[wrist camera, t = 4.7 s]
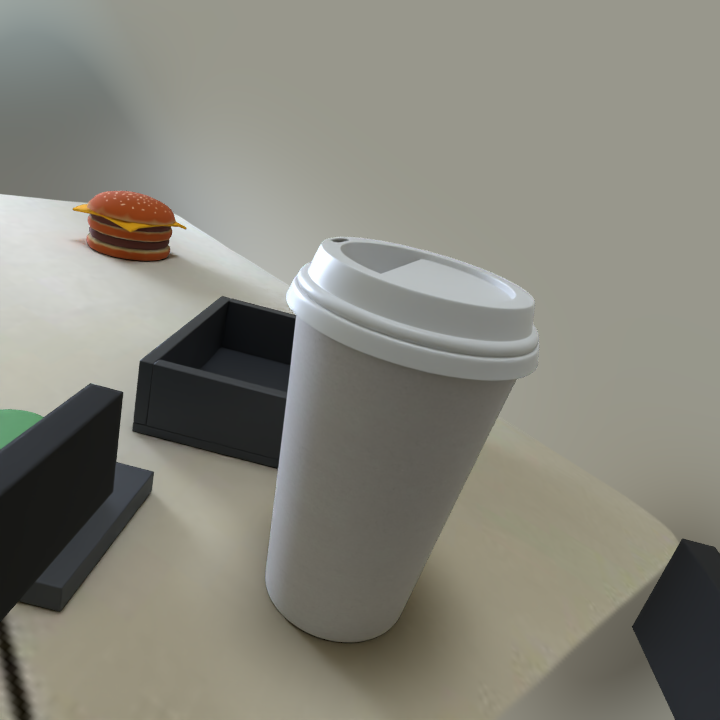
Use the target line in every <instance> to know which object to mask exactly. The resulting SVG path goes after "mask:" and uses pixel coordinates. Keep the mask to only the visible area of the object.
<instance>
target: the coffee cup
mask: <svg viewBox="0 0 720 720" xmlns="http://www.w3.org/2000/svg"><path fill="white" fill-rule="evenodd" d="M286 300H287V303H288V305H289V307H290V308H291V310H292V311H293V312H294V313H295V314H296V322H295V331H294V340H293V349H292V358H291V366H290V375H289V384H288V392H287V400H286V409H285V417H284V425H283V434H282V442H281V450H280V458H279V466H278V474H277V483H276V491H275V499H274V507H273V515H272V523H271V531H270V539H269V547H268V555H267V563H266V573H265V581H266V587H267V590H268V593H269V596H270V598H271V600H272V602H273V603H274V605H275V606H276V608H277V609H278V610H279V611H280V613H281V614H282V615H283V616H284V617H285V618H286V619H287V620H289V621H290V622H291V623H292V624H294V625H295V626H297V627H298V628H300V629H301V630H303V631H305V632H307V633H309V634H311V635H314V636H316V637H319V638H323V639H326V640H331V641H337V642H360V641H365V640H369V639H372V638H375V637H377V636H380V635H381V634H383V633H385V632H386V631H388V630H389V629H390V628H391V627H392V626H393V625H394V624H395V623H396V622H397V620H398V619H399V617H400V615H401V613H402V611H403V609H404V607H405V605H406V603H407V601H408V599H409V597H410V595H411V593H412V591H413V588H414V586H415V584H416V582H417V580H418V578H419V576H420V574H421V572H422V570H423V568H424V566H425V564H426V562H427V560H428V558H429V556H430V554H431V552H432V549H433V547H434V545H435V543H436V541H437V539H438V537H439V535H440V533H441V531H442V529H443V527H444V525H445V523H446V521H447V519H448V517H449V515H450V513H451V511H452V509H453V506H454V504H455V502H456V500H457V498H458V496H459V494H460V492H461V490H462V488H463V486H464V484H465V482H466V480H467V478H468V476H469V474H470V472H471V470H472V468H473V466H474V464H475V462H476V460H477V458H478V456H479V453H480V451H481V449H482V447H483V445H484V443H485V441H486V439H487V437H488V435H489V433H490V431H491V429H492V427H493V425H494V423H495V421H496V419H497V417H498V415H499V413H500V411H501V409H502V407H503V405H504V403H505V401H506V399H507V397H508V395H509V393H510V391H511V389H512V387H513V385H514V384H515V382H516V380H517V379H518V378H522V377H525V376H528V375H530V374H531V373H533V372H534V371H535V370H536V368H537V366H538V355H539V343H538V342H539V335H538V331H537V329H536V328H535V326H534V325H533V318H534V307H535V300H534V299H533V297H532V296H531V295H530V294H529V293H528V292H527V291H526V290H524V289H523V288H521V287H520V286H518V285H516V284H515V283H513V282H511V281H509V280H507V279H505V278H503V277H501V276H498V275H496V274H494V273H491V272H489V271H486V270H484V269H482V268H479V267H476V266H474V265H471V264H468V263H465V262H462V261H459V260H456V259H453V258H450V257H447V256H443V255H440V254H437V253H433V252H430V251H425V250H422V249H418V248H414V247H410V246H405V245H400V244H395V243H390V242H386V241H379V240H373V239H366V238H356V237H334V238H329V239H326V240H324V241H323V242H322V243H321V245H320V247H319V249H318V251H317V253H316V254H315V257H314V258H313V260H312V262H309V263H307V264H306V265H304V266H303V267H302V268H301V269H300V271H299V273H298V274H297V275H296V276H295V278H294V280H293V282H292V284H291V286H290V288H289V290H288V292H287V294H286Z"/></svg>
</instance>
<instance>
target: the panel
mask: <svg viewBox="0 0 720 720" xmlns="http://www.w3.org/2000/svg"><path fill="white" fill-rule="evenodd" d="M153 476H154V472H153V471H149V470H145V469H141V468H137V467H133V466H129V465H125V464H122V463H118V462H116V468H115V478H114V488H113V493H112V494H111V495H110V496H109V497H108V498H107V499H106V501H105V502H104V503H103V504H102V505H101V506H100V508H99V509H98V510H97V511H96V512H95V513H94V514H93V516H92V517H91V518H90V519H89V520H88V521H87V523H86V524H85V525H84V526H83V527H82V528H81V529H80V531H79V532H78V533H77V534H76V535H75V536H74V538H73V539H72V540H71V541H70V542H69V543H68V544H67V546H66V547H65V548H64V549H63V550H62V551H61V553H60V554H59V555H58V556H57V557H56V558H55V560H54V561H53V562H52V563H51V564H50V565H49V566H48V568H47V569H46V570H45V571H44V572H43V573H42V575H41V576H40V577H39V578H38V579H37V580H36V581H35V583H34V584H33V585H32V586H31V587H30V588H29V590H28V591H27V592H26V593H25V594H24V595H23V596H22V598H21V599H20V600H19V601H21V602H25V603H28V604H32V605H36V606H40V607H44V608H48V609H52V610H56V611H61V610H62V608H63V607H64V606H65V604H66V603H67V602H68V601H69V599H70V598H71V597H72V595H73V594H74V593H75V591H76V590H77V589H78V587H79V586H80V585H81V583H82V582H83V581H84V579H85V578H86V577H87V575H88V574H89V573H90V571H91V570H92V569H93V567H94V566H95V565H96V564H97V562H98V561H99V560H100V558H101V557H102V556H103V554H104V553H105V552H106V550H107V549H108V548H109V546H110V545H111V544H112V542H113V541H114V540H115V538H116V537H117V536H118V534H119V533H120V532H121V530H122V529H123V528H124V527H125V525H126V524H127V523H128V521H129V520H130V519H131V517H132V516H133V515H134V513H135V512H136V511H137V509H138V508H139V507H140V505H141V504H142V503H143V501H144V500H145V499H146V497H147V496H148V495H149V493H150V492H151V491H152V484H153Z"/></svg>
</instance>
